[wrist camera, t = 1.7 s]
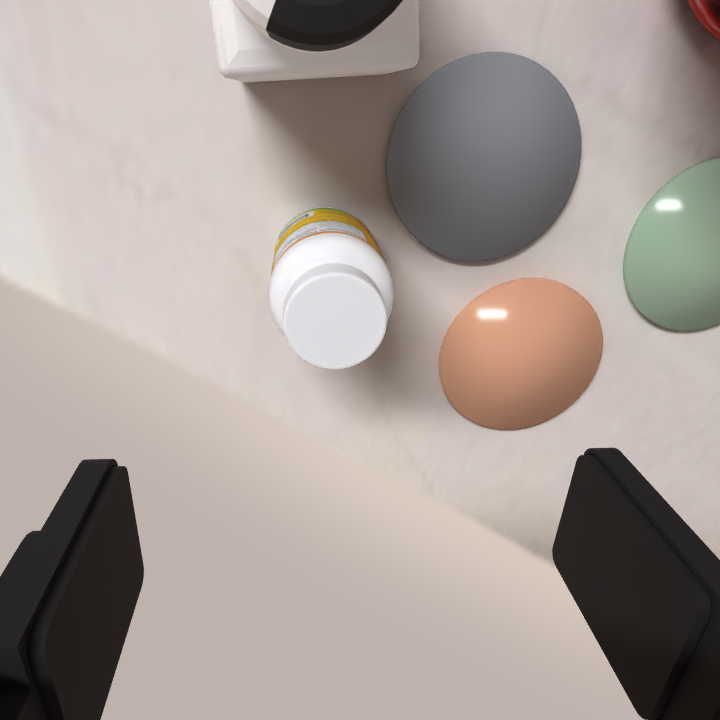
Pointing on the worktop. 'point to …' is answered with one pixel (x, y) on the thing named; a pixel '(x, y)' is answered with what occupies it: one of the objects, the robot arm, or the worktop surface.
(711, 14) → the plant pot
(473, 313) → the peach coaster
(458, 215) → the slate grey coaster
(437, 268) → the worktop surface
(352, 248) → the supplement bottle
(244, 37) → the medicine bottle
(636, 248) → the sage green coaster
